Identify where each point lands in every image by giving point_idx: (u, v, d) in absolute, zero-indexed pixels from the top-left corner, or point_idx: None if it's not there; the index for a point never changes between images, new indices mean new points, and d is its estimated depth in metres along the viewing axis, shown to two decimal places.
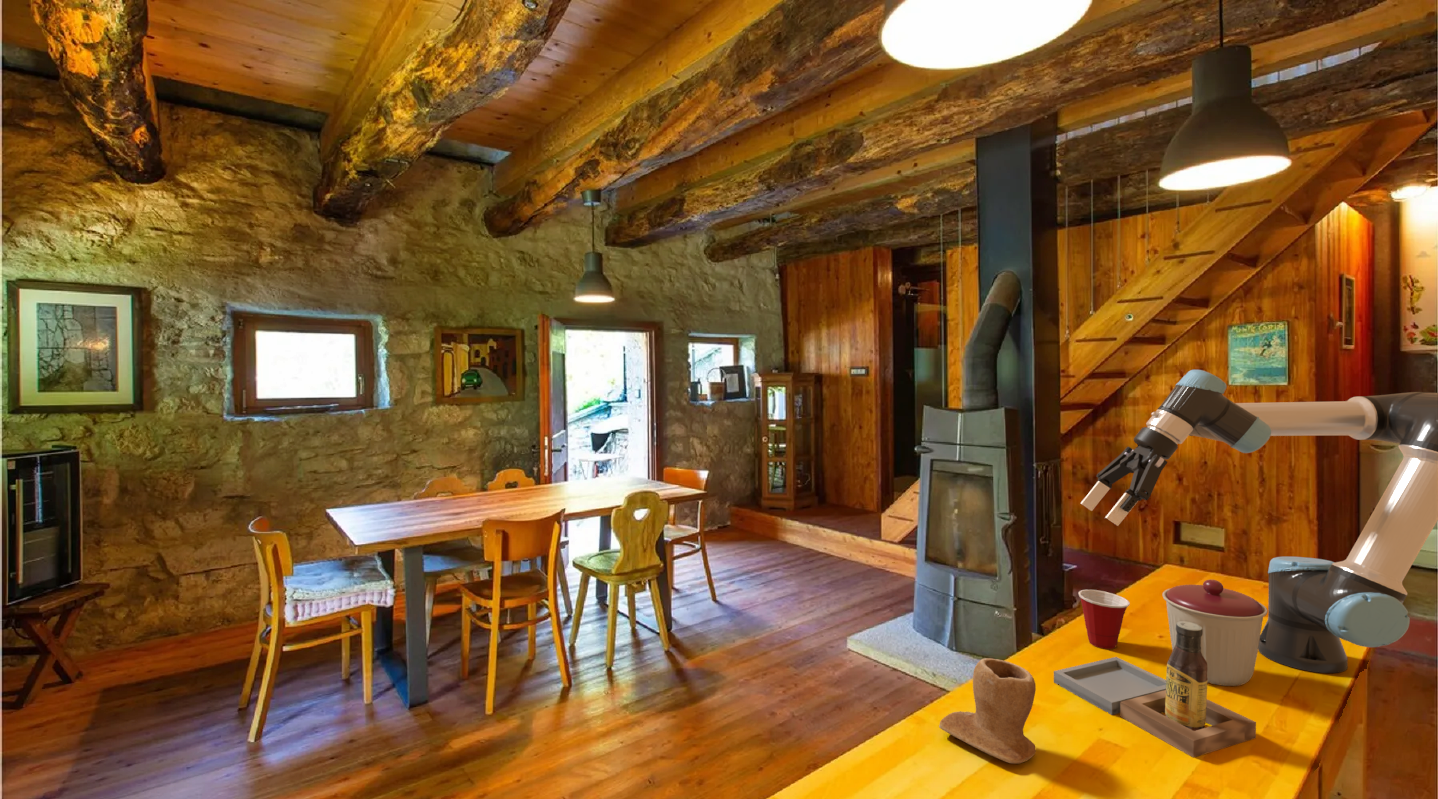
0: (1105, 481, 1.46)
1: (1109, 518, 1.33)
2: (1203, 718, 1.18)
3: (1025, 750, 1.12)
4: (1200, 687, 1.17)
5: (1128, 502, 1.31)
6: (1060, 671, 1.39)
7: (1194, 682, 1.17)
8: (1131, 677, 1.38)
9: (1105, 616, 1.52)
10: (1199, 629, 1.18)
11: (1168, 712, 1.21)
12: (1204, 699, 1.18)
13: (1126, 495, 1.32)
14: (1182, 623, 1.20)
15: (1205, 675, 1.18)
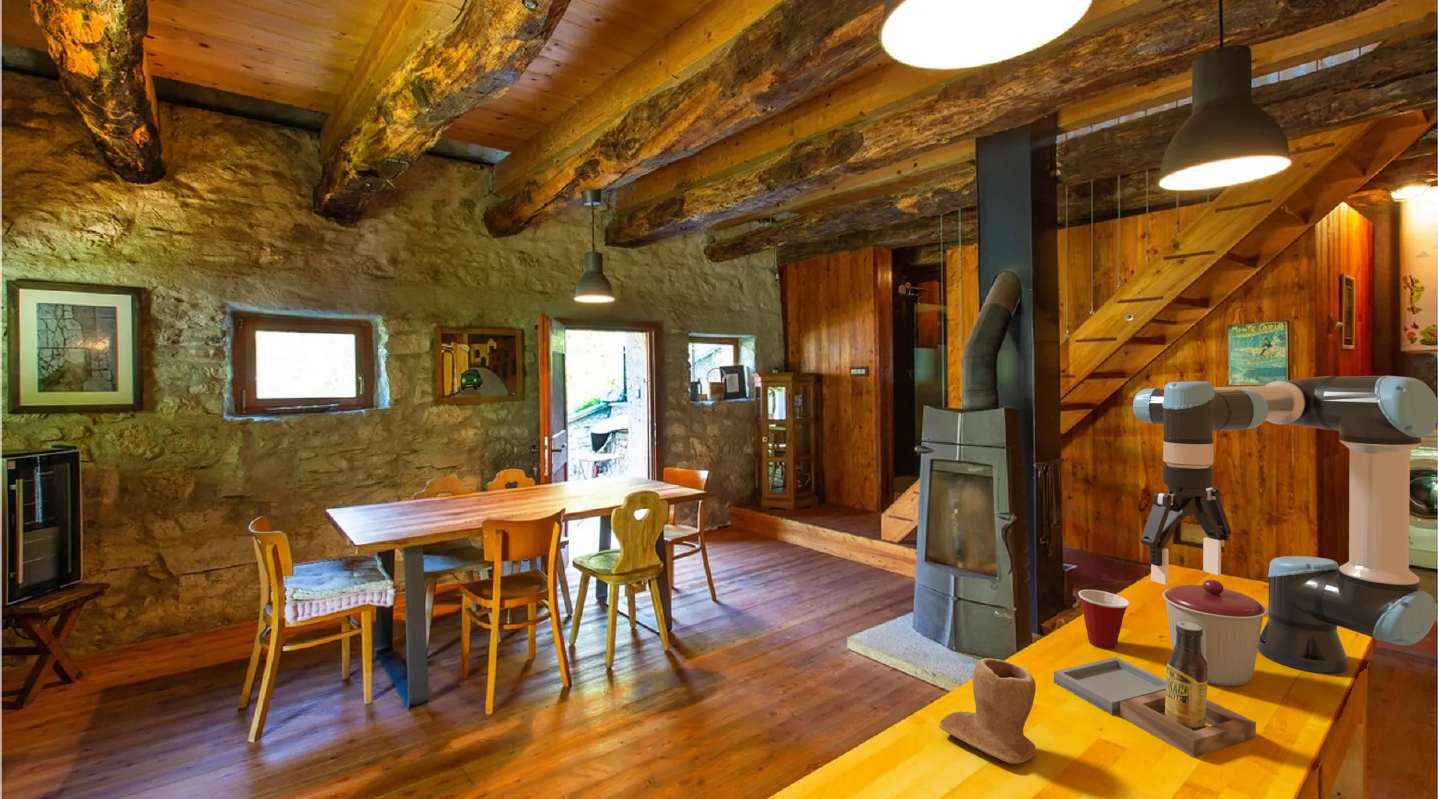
0: (1213, 535, 1.22)
1: (1153, 579, 1.18)
2: (1203, 718, 1.18)
3: (1025, 750, 1.12)
4: (1200, 687, 1.17)
5: (1151, 555, 1.17)
6: (1060, 671, 1.39)
7: (1194, 682, 1.17)
8: (1131, 677, 1.38)
9: (1105, 616, 1.52)
10: (1199, 629, 1.18)
11: (1168, 712, 1.21)
12: (1204, 699, 1.18)
13: None
14: (1182, 623, 1.20)
15: (1205, 675, 1.18)
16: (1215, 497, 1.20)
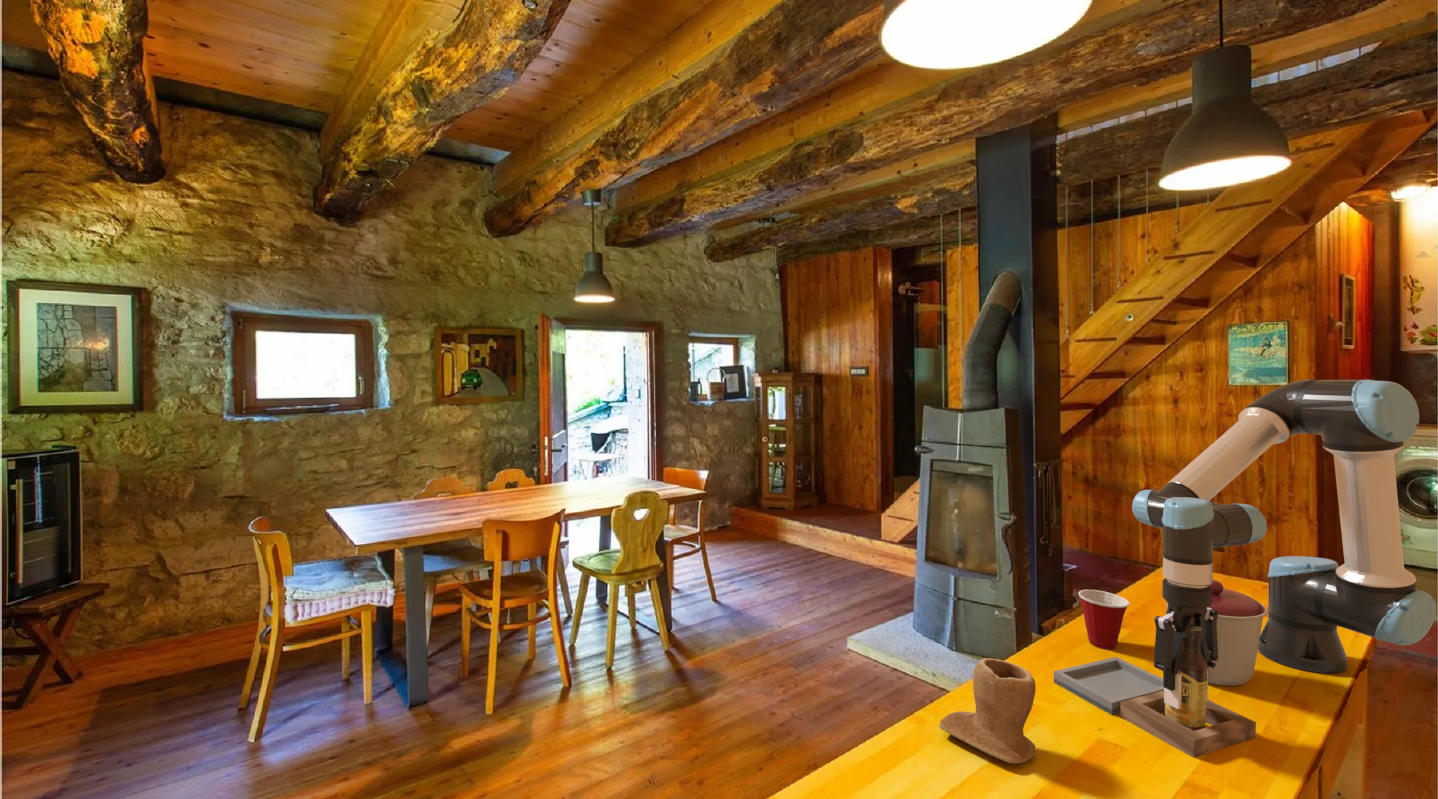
0: None
1: (1166, 701, 1.20)
2: (1203, 718, 1.18)
3: (1025, 750, 1.12)
4: (1200, 687, 1.17)
5: (1164, 679, 1.19)
6: (1060, 671, 1.39)
7: (1194, 682, 1.17)
8: (1131, 677, 1.38)
9: (1105, 615, 1.52)
10: (1199, 629, 1.18)
11: (1168, 712, 1.21)
12: (1204, 699, 1.18)
13: None
14: None
15: (1205, 675, 1.18)
16: (1213, 618, 1.21)
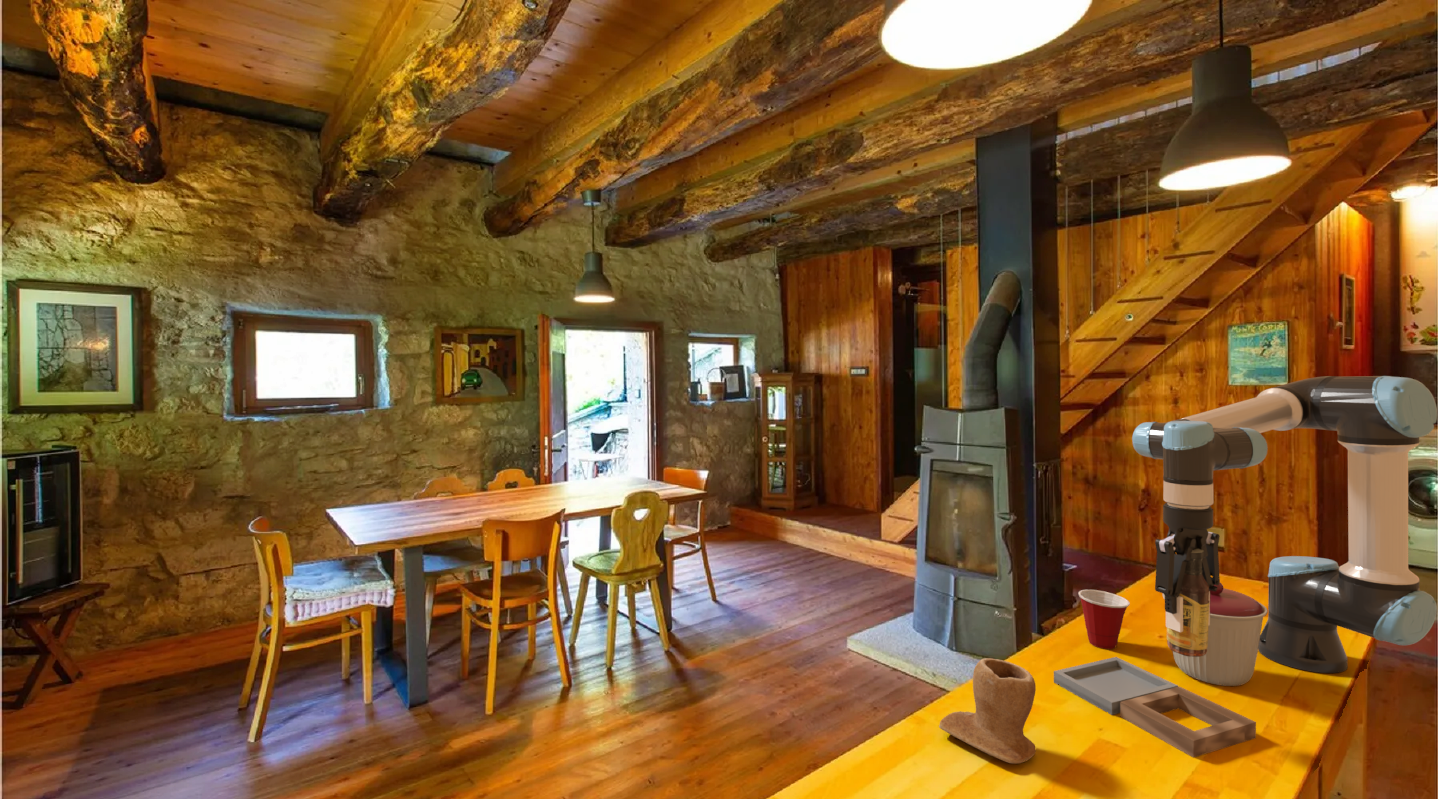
0: None
1: (1168, 626, 1.20)
2: (1205, 641, 1.17)
3: (1025, 750, 1.12)
4: (1201, 609, 1.17)
5: (1165, 602, 1.19)
6: (1060, 671, 1.39)
7: (1196, 604, 1.17)
8: (1131, 677, 1.38)
9: (1105, 616, 1.52)
10: (1200, 551, 1.17)
11: (1170, 637, 1.20)
12: (1206, 622, 1.17)
13: None
14: None
15: (1207, 597, 1.17)
16: (1214, 541, 1.20)
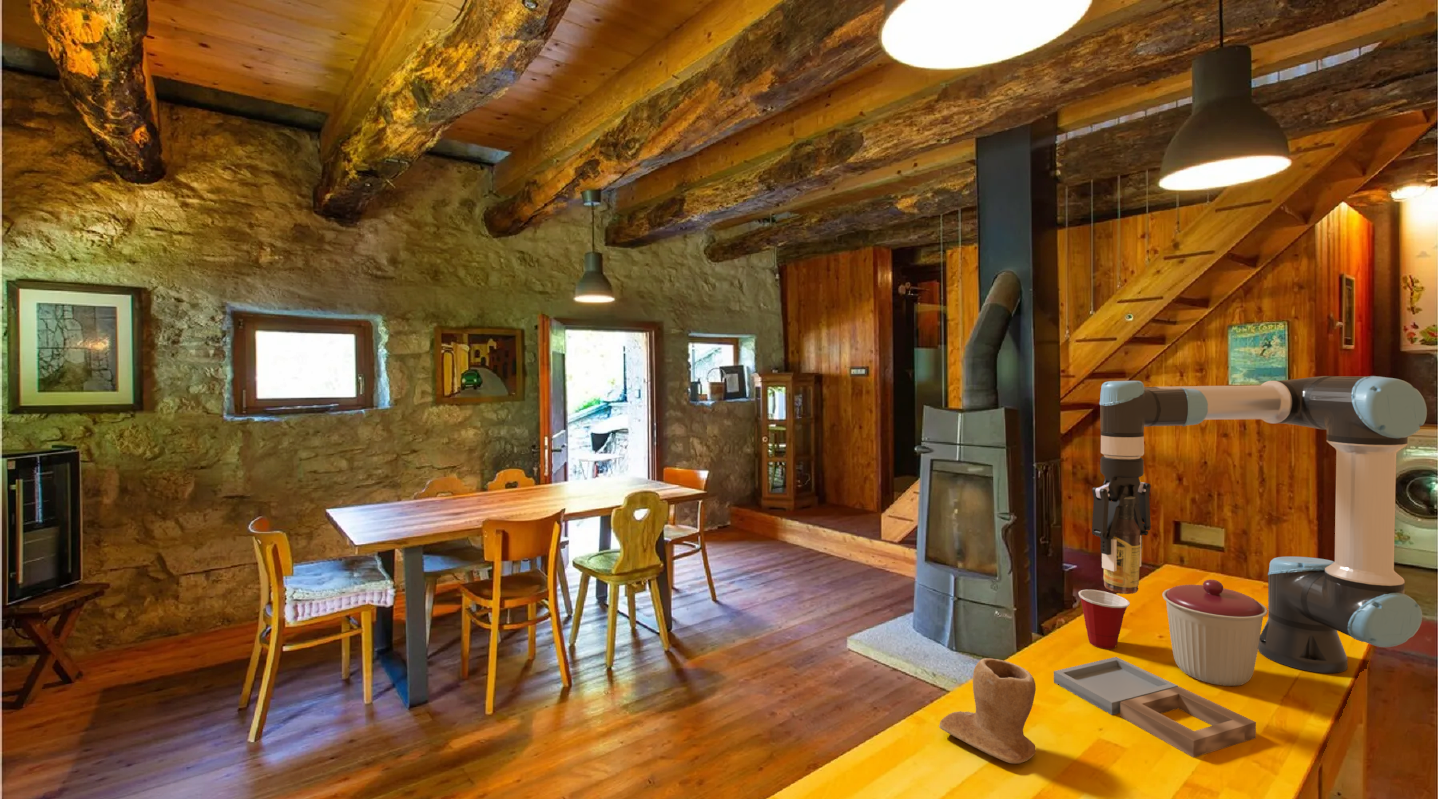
0: None
1: (1104, 566, 1.32)
2: (1136, 579, 1.30)
3: (1025, 750, 1.12)
4: (1133, 550, 1.29)
5: (1101, 545, 1.31)
6: (1060, 671, 1.39)
7: (1128, 546, 1.29)
8: (1131, 677, 1.38)
9: (1105, 616, 1.52)
10: (1132, 498, 1.29)
11: (1105, 577, 1.33)
12: (1137, 562, 1.29)
13: None
14: None
15: (1138, 539, 1.29)
16: (1145, 490, 1.32)
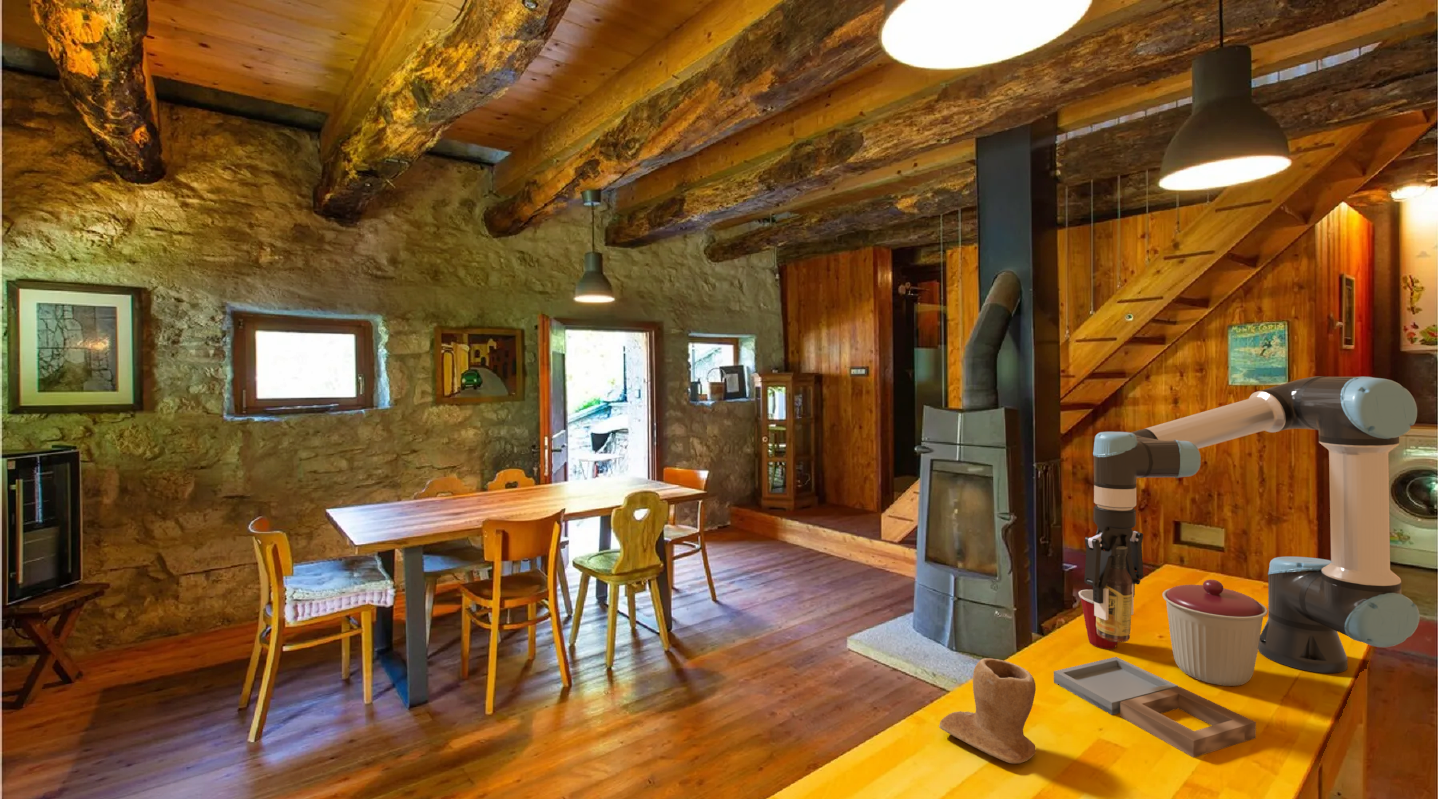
0: None
1: (1096, 614, 1.34)
2: (1128, 628, 1.32)
3: (1025, 750, 1.12)
4: (1124, 600, 1.31)
5: (1093, 593, 1.33)
6: (1060, 671, 1.39)
7: (1120, 595, 1.31)
8: (1131, 677, 1.38)
9: None
10: (1124, 548, 1.31)
11: (1098, 625, 1.35)
12: (1128, 611, 1.32)
13: None
14: None
15: (1129, 589, 1.31)
16: (1138, 539, 1.34)
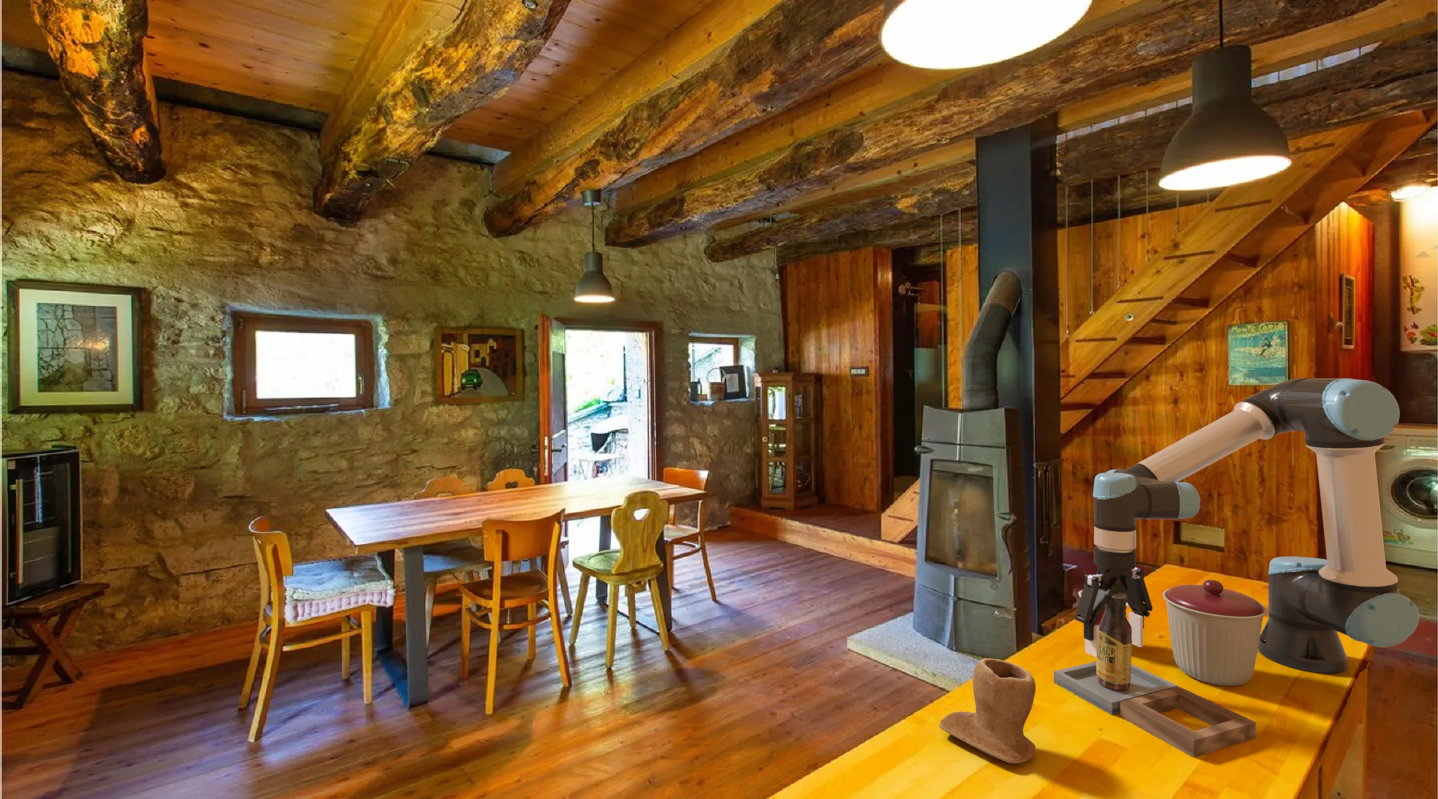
0: (1136, 610, 1.36)
1: (1087, 651, 1.34)
2: (1128, 676, 1.32)
3: (1025, 750, 1.12)
4: (1124, 649, 1.31)
5: (1084, 630, 1.33)
6: (1060, 671, 1.39)
7: (1120, 644, 1.31)
8: (1131, 677, 1.38)
9: None
10: (1124, 597, 1.32)
11: (1098, 672, 1.35)
12: (1128, 659, 1.32)
13: None
14: None
15: (1129, 638, 1.32)
16: (1139, 576, 1.35)
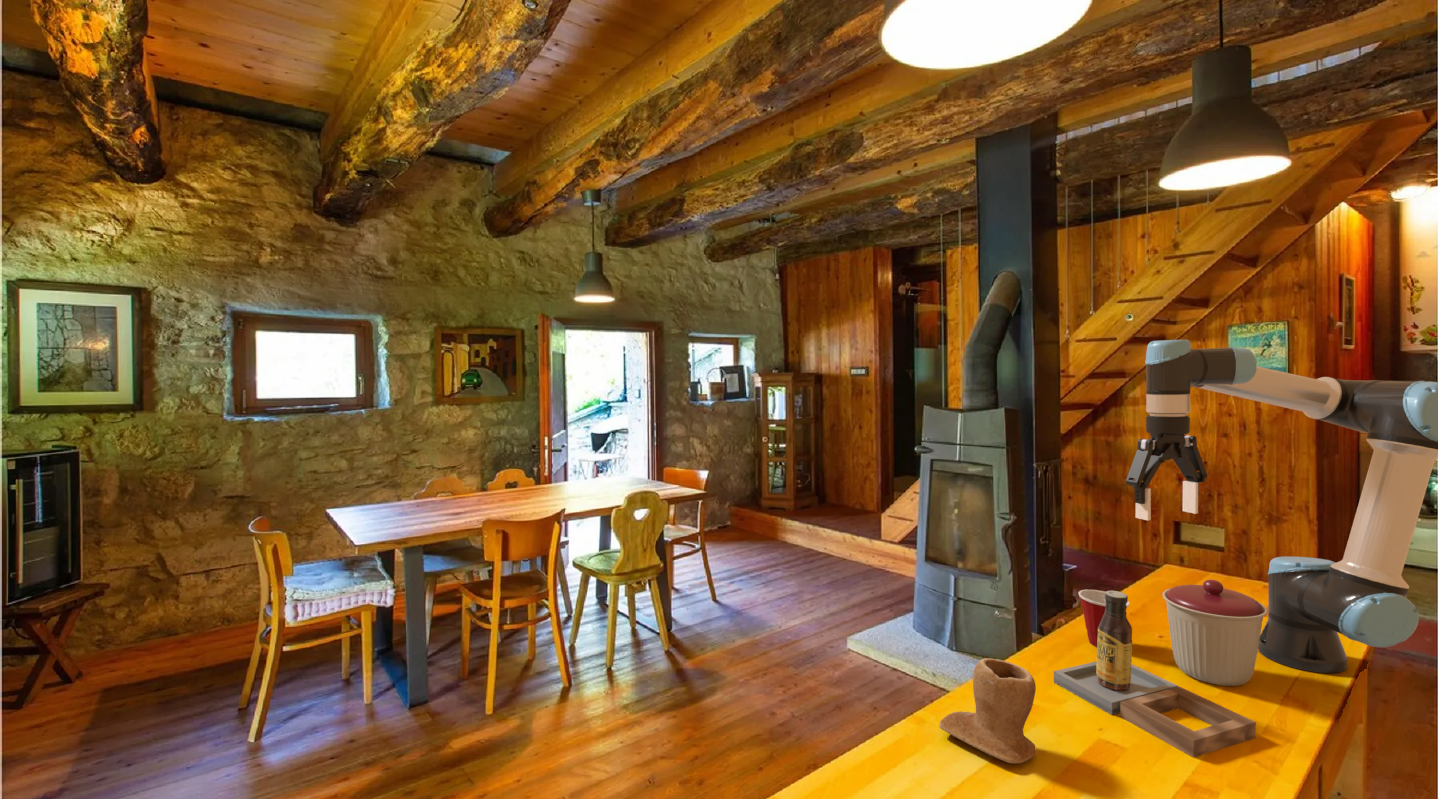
0: (1191, 478, 1.36)
1: (1137, 516, 1.32)
2: (1128, 676, 1.32)
3: (1025, 750, 1.12)
4: (1124, 648, 1.31)
5: (1135, 494, 1.31)
6: (1060, 671, 1.39)
7: (1120, 644, 1.31)
8: (1131, 677, 1.38)
9: None
10: (1124, 597, 1.32)
11: (1098, 672, 1.35)
12: (1129, 659, 1.32)
13: None
14: (1110, 592, 1.34)
15: (1129, 638, 1.32)
16: (1192, 443, 1.34)
